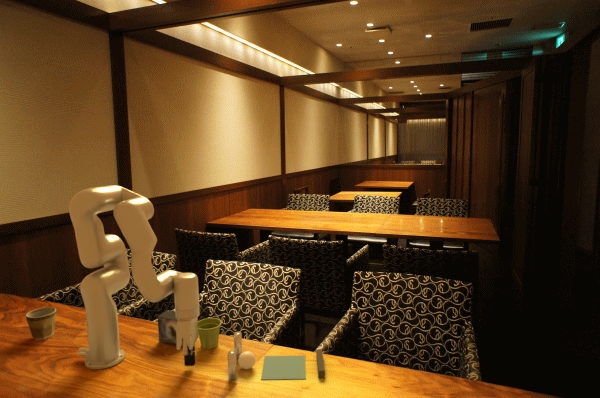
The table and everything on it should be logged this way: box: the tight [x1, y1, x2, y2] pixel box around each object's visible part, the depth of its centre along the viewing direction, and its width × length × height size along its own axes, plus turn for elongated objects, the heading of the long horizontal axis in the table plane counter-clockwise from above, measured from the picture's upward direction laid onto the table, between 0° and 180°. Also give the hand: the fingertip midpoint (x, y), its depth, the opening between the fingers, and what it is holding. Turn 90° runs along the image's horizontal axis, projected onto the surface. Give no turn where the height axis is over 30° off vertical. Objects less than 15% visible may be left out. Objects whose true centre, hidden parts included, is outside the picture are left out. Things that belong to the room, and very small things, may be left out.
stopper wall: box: [315, 349, 326, 379], centre depth 131 cm, size 2×13×2 cm, turn 1°
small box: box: [157, 309, 183, 347], centre depth 150 cm, size 11×6×10 cm, turn 68°
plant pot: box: [198, 317, 223, 350], centre depth 146 cm, size 9×9×9 cm
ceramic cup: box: [25, 306, 57, 341], centre depth 155 cm, size 13×10×10 cm
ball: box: [237, 350, 256, 370], centre depth 131 cm, size 6×6×6 cm
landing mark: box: [260, 355, 307, 381], centre depth 131 cm, size 14×14×1 cm
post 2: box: [233, 331, 243, 361], centre depth 137 cm, size 3×3×9 cm
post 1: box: [227, 349, 238, 383], centre depth 124 cm, size 3×3×9 cm
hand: (190, 364), depth 131 cm, fingers closed
